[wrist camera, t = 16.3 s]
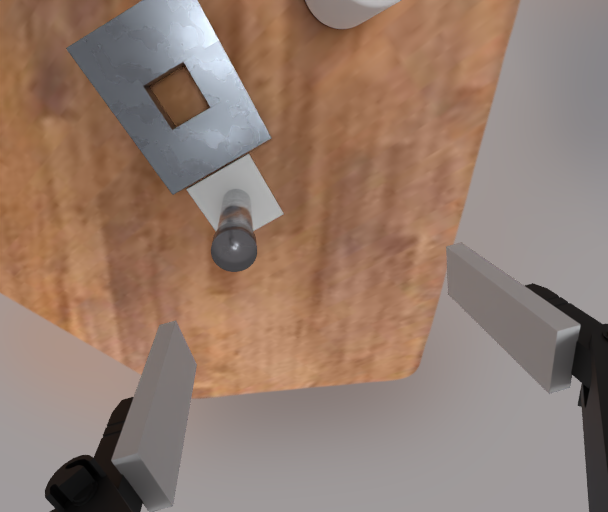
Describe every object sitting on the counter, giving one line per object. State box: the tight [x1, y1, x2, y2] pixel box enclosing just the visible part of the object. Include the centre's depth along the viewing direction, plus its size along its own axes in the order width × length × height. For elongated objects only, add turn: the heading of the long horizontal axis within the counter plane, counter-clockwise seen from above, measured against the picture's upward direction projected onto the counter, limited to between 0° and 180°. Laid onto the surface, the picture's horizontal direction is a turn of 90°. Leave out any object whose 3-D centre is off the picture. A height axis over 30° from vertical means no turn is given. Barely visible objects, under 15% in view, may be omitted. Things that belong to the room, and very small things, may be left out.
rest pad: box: [186, 153, 284, 231], centre depth 41 cm, size 8×8×1 cm
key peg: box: [211, 189, 257, 272], centre depth 34 cm, size 4×4×14 cm
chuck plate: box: [66, 0, 271, 194], centre depth 35 cm, size 15×12×2 cm
